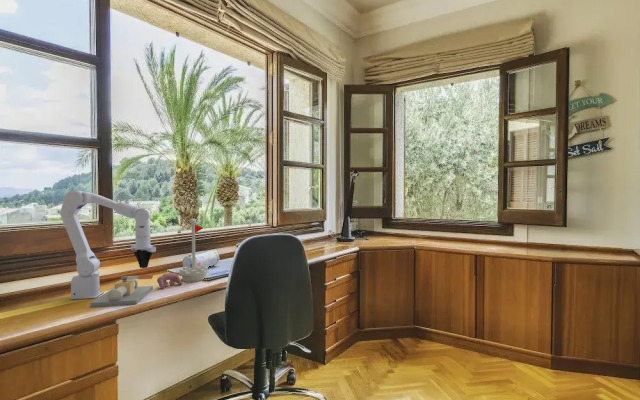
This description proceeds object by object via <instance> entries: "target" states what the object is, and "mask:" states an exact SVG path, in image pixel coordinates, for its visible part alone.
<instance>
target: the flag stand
mask: <svg viewBox="0 0 640 400" xmlns="http://www.w3.org/2000/svg"><path fill="white" fill-rule="evenodd" d="M189 223H190V224H191V255H192V268H189V269H188V267H183V266H182V268H180V269H179V275H180V276H181V277H182V278H181V279H182V280H181V281H182V282H186V283H187V282H188V283H189V282H190V283H193V282H199V281H203V279H204V278H205V277H207V273H209V268H208V267H206V266H201V268H197V266H196V262H195V255H196V233H198V232H199V231H201V230H203V229H204V227H202V226H200V225H197V219H195V218H191V219H190V220H189ZM204 280H205V279H204Z"/></svg>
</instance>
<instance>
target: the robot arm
mask: <svg viewBox="0 0 640 400" xmlns="http://www.w3.org/2000/svg"><path fill="white" fill-rule="evenodd" d="M87 204H97V205H100V206H103V207H106V208H109V209H113V210H115V212H116V214H117V215H121V216H122V217H126V218H129V219H132V220H133V219H134V221H135V228H134V229H135V230H134V231H135V244H133V245H132V244H131V246H130V250H131V251H133V254H134V256H135V257H136V260H137V263H138V265H139V266H138V267H139V269H140V268H141V269H145V268H146V269H147V268H148V267H149V263H150V260H151V257H152V255H153V254H154V253H155V252H156V253H157V247H156V246H154V245H152V244H151V222H150V219H151V216H152V215H151V211H150V210H149V209H148V208H145V207H142V206H141V205H135V204H133V203H130V201H128V200H125V201H123V200H122V201H119V202H118V201H114V200H113V199H110V198H107V197H105V196H103V195H99V194H97V193H94V192H89V191H85V190H69V191H68V192H67V193H65V195H64V196H63V197H62V204H61V209H60V212H59V214H60V215H59V216H60V218H61V220H62V222H63V225H64V228H65V230H66V233H67V235H68V238H69V240H70V242H71V245H72V247H73V250H74V252H75V263H76V269H75V271H76V272H77V274H78V275H74V276H73V277H72V278H71V281H70V299H69V300H84V299H85V300H86V299H97V298H99V297H100V296H102V295H103V294H105V293H104V291H100V272H99V269H100V268H101V261H100V259H99V258H98V257H96V255H95V253H94V252H93V251H92V250H91V247H90V245H89V242H88V239H87V237H86V235H85V233H84V230H83V227H82V225H81V223H80V219H79V217H78V213H79V212H80V211H81V210H82V208H84V206H86V205H87Z"/></svg>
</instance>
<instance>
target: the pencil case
mask: <svg viewBox="0 0 640 400" xmlns="http://www.w3.org/2000/svg"><path fill="white" fill-rule="evenodd" d="M195 262H196V266H197V268H201V266H206V267H209V266H211V267H214V266H216V265H218V264H219V262H220V255H219V253H218V251H217V250H215V249H214V250H213V249H212V250H209V251H206V252H203V253H199V254H195ZM213 265H214V266H213ZM183 267H188V269H189V268H192V254H188V255H186V256H185V257H183V259H182V268H183ZM209 268H210V267H209Z"/></svg>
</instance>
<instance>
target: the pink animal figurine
mask: <svg viewBox="0 0 640 400" xmlns="http://www.w3.org/2000/svg"><path fill="white" fill-rule="evenodd" d="M156 279H157V280H156V282H157V283H158V286H159V288H160V289H161V290H164V289H165V287H166V288H167V287H168V286H169V285H170V286H174V285H175V284H176V283H177V285H179V286H182V285H183V280H181V279H182V278H180V276H179V274H177V273H176V272H174V273H171V272H169V273H164V274H162V275H160V276H159V277H157V278H156Z"/></svg>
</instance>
